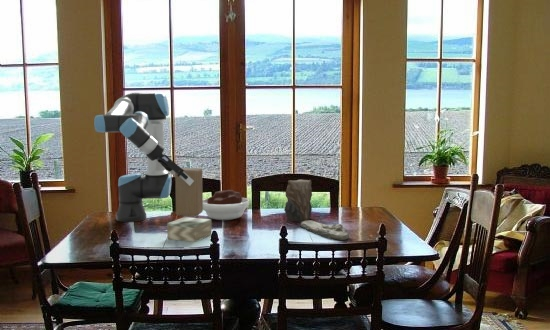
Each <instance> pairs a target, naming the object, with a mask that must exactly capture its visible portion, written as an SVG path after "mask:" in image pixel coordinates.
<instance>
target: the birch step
mask: <svg viewBox="0 0 550 330" xmlns="http://www.w3.org/2000/svg"><path fill="white" fill-rule="evenodd" d="M166 229H167V234H166V235H167V240H172V241H183V240H184V242H185V241H186V242H193V243H194V242H198V241H200V240H203V239H205V238H207V237H209V236H211V233H212V230H213V229H212V219H211V218H200V217H197V218H196V217H190V216H183V217H181V218H178V219H176V220H173V221H169V222H167V223H166Z"/></svg>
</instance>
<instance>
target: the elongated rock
mask: <svg viewBox="0 0 550 330" xmlns="http://www.w3.org/2000/svg"><path fill="white" fill-rule="evenodd" d="M300 227H301V228H303V229H305V230H307V231H309V232H311V233H314V234H316V233H317V235H320V236H321V237H324V236H325V237H326V238H328V239H331V240H333V239H334V240H340V241H345V240H348V239H349V238H350V232H349V231H348V230H347V229H346V228H345V227H343V225H342V224H341V223H339V224H338V223H336V224H329V225H328V224H324V223H322V222H318V221H315V220H312V219H311V220H310V219H309V220H307V221H303V222H300Z"/></svg>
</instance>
